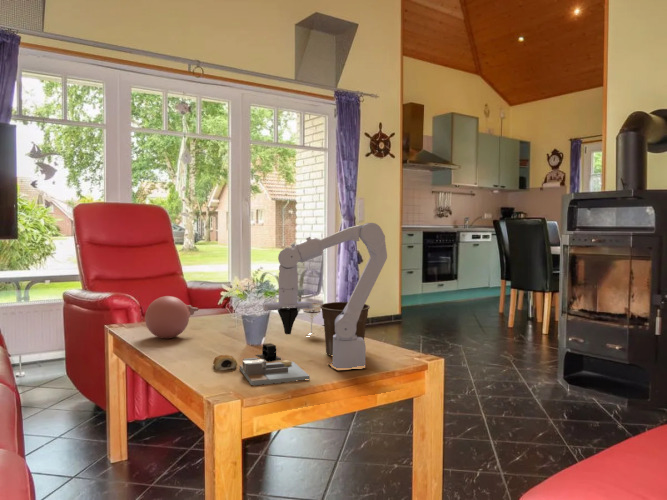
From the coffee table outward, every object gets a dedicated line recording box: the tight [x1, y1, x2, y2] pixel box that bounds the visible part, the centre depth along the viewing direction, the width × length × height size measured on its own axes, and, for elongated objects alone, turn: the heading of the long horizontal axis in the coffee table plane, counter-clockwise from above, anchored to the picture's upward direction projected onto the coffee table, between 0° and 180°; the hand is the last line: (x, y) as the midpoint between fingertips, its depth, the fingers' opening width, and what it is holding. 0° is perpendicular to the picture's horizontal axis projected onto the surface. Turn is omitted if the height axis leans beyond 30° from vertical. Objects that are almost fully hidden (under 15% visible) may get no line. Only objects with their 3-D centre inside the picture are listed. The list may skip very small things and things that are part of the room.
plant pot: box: [320, 301, 371, 355], centre depth 173 cm, size 16×16×16 cm
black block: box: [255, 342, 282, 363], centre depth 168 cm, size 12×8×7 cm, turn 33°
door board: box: [239, 357, 310, 386], centre depth 148 cm, size 16×16×4 cm
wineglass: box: [302, 302, 322, 335], centre depth 202 cm, size 7×7×12 cm
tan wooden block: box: [242, 358, 267, 373], centre depth 146 cm, size 6×3×3 cm, turn 111°
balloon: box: [144, 295, 199, 339], centre depth 194 cm, size 15×20×15 cm
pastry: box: [212, 354, 238, 371], centre depth 157 cm, size 9×7×4 cm
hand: (287, 333), depth 157 cm, fingers closed
